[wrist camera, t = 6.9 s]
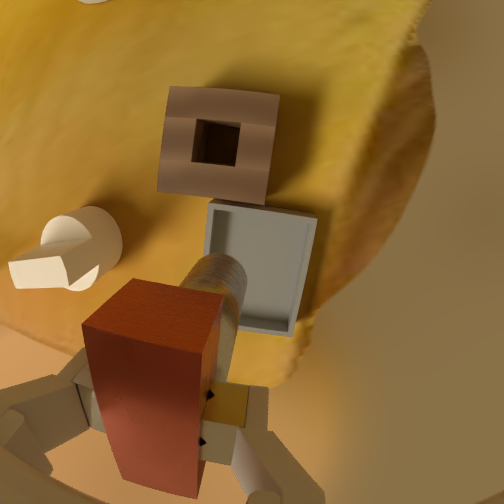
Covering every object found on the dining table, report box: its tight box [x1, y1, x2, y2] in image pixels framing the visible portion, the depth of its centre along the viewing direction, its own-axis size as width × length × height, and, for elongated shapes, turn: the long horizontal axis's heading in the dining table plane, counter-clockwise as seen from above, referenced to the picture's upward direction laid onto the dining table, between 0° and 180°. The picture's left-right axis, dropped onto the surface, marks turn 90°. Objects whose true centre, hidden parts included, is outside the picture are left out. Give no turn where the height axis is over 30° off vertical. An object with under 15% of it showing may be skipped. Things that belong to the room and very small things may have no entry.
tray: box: [203, 199, 318, 337], centre depth 33 cm, size 14×11×3 cm
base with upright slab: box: [9, 206, 123, 291], centre depth 29 cm, size 9×9×12 cm
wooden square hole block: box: [157, 86, 280, 205], centre depth 28 cm, size 10×10×6 cm
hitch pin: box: [82, 253, 247, 499], centre depth 11 cm, size 6×3×10 cm, turn 172°
